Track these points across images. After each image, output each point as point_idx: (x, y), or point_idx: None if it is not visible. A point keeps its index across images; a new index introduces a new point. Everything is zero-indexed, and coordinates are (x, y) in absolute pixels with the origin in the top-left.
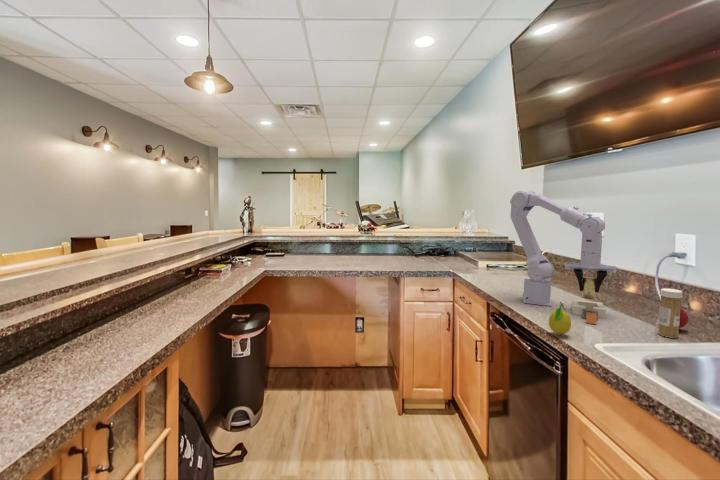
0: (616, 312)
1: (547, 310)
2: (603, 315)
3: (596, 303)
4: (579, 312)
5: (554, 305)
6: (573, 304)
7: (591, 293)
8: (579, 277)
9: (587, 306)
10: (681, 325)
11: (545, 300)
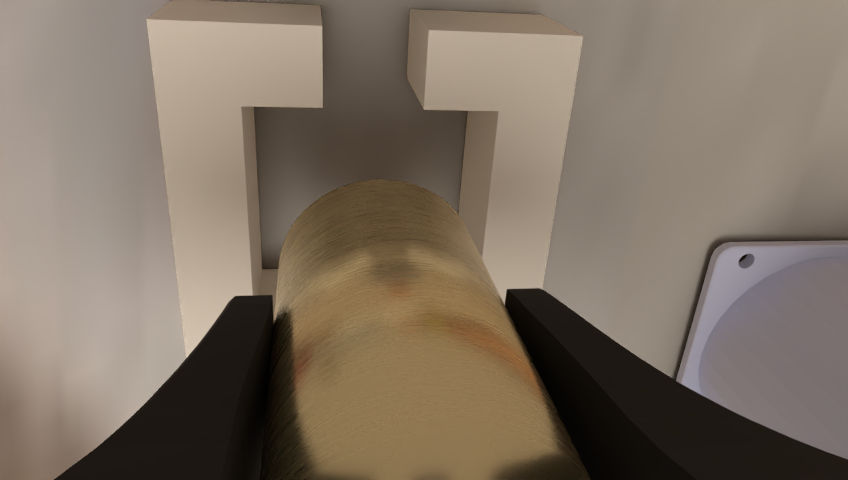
0: (52, 341)
1: (798, 59)
2: (188, 7)
3: None
4: (479, 17)
5: (662, 307)
6: (565, 120)
7: (355, 232)
8: (740, 446)
9: None
10: None
11: (796, 294)
